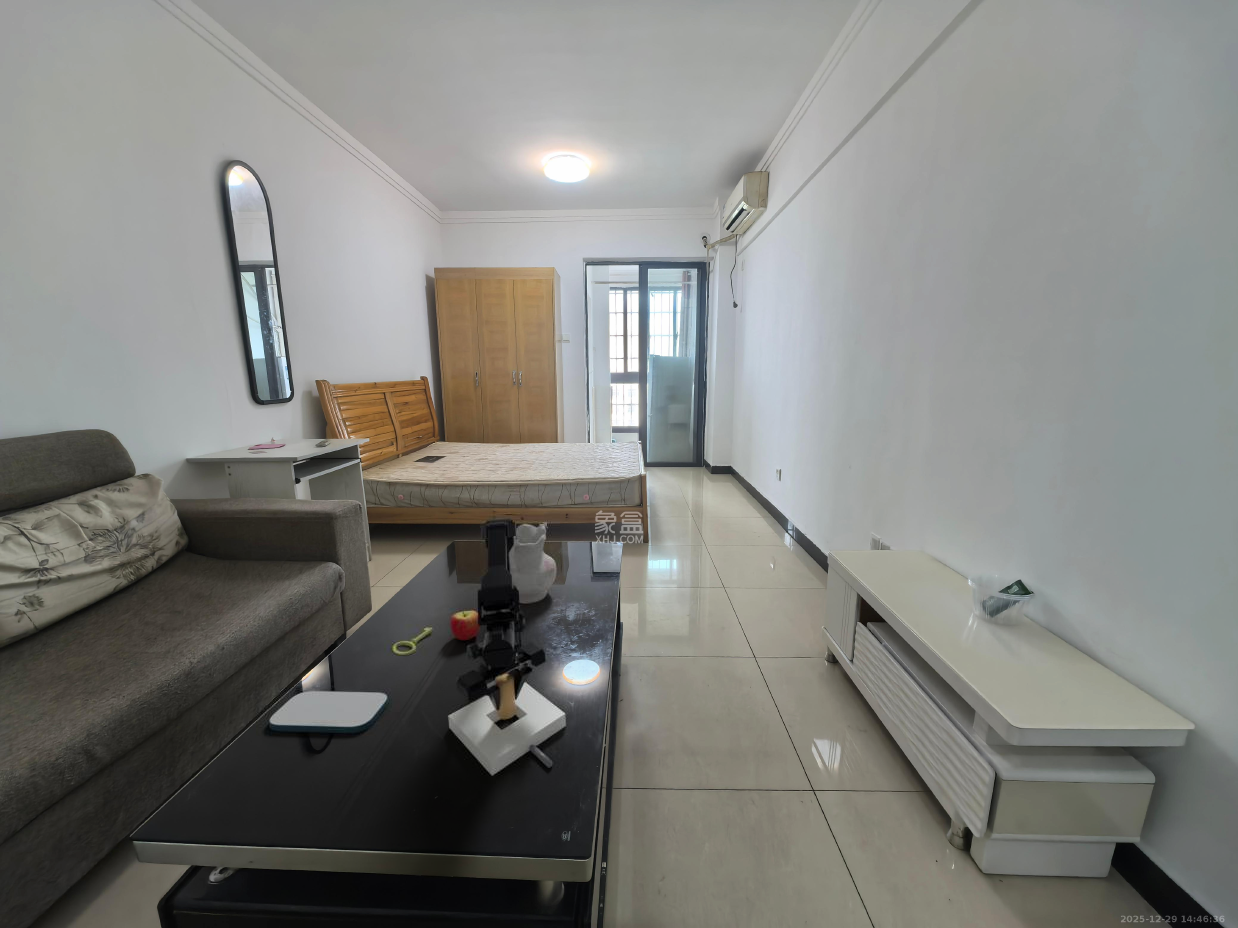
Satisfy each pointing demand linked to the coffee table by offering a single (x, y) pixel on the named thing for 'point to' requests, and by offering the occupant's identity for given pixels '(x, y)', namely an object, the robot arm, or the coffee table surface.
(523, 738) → the grey board with hole
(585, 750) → the coffee table surface
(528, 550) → the ceramic pitcher
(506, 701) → the tan peg
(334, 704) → the external hard drive
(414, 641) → the key
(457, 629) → the apple
